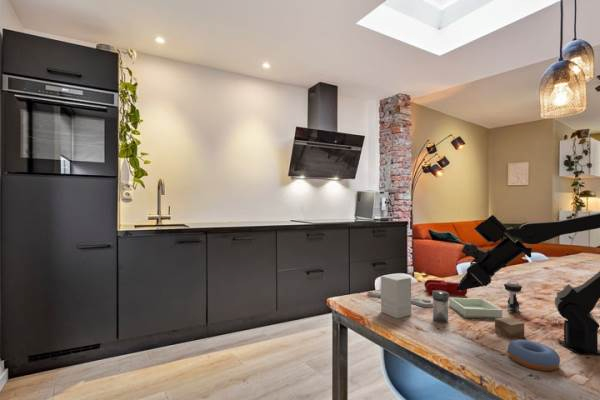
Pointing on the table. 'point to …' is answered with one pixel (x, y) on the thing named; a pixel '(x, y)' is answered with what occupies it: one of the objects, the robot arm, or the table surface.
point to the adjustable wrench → (413, 300)
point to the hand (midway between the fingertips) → (459, 286)
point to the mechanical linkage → (443, 287)
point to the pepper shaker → (440, 306)
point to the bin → (475, 308)
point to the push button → (513, 296)
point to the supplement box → (396, 295)
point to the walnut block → (509, 327)
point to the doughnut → (533, 355)
